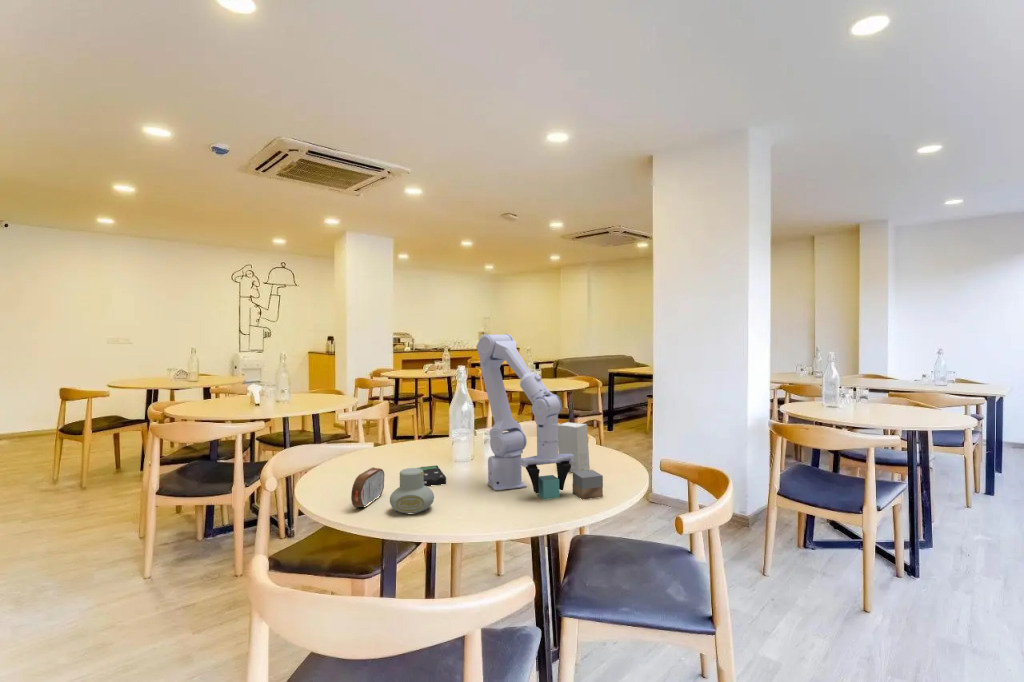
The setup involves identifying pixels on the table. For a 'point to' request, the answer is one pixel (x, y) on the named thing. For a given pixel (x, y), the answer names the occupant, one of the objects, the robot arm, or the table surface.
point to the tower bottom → (587, 492)
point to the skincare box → (574, 444)
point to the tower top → (587, 479)
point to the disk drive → (433, 475)
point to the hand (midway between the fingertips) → (548, 490)
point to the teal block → (548, 487)
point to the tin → (367, 487)
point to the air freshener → (411, 492)
